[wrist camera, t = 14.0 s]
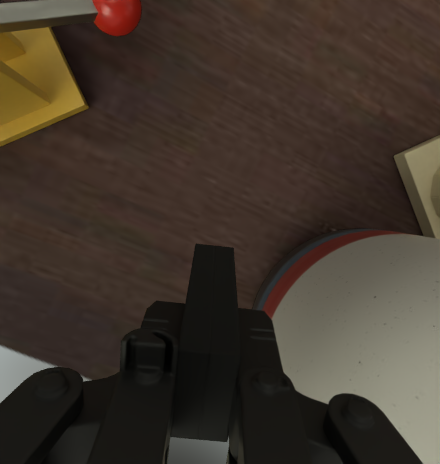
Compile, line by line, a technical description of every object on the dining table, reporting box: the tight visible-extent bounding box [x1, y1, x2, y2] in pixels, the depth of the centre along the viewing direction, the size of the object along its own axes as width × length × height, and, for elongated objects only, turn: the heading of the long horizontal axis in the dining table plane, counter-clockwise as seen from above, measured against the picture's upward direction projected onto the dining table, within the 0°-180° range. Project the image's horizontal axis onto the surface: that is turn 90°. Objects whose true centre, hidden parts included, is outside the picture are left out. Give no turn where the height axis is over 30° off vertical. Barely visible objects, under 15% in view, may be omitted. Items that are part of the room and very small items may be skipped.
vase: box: [252, 228, 440, 464], centre depth 22 cm, size 17×17×24 cm
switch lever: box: [0, 0, 142, 36], centre depth 22 cm, size 14×3×3 cm
